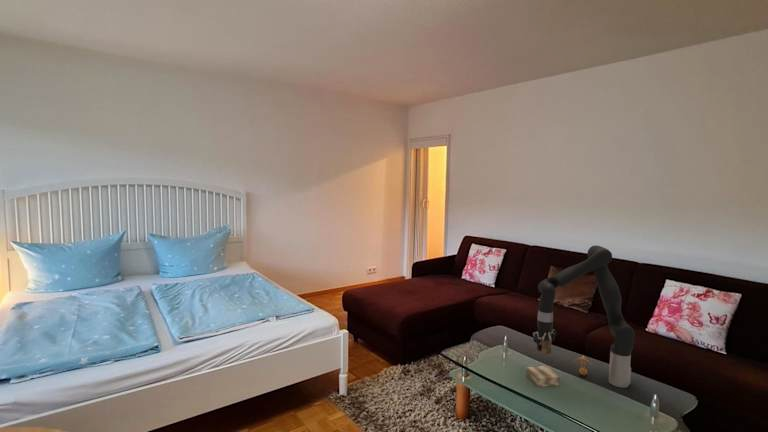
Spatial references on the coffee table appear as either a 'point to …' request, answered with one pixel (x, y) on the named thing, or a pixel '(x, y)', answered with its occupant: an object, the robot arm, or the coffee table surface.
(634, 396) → the coffee table surface
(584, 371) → the figurine
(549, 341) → the walnut block
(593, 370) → the coffee table surface
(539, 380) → the birch block
